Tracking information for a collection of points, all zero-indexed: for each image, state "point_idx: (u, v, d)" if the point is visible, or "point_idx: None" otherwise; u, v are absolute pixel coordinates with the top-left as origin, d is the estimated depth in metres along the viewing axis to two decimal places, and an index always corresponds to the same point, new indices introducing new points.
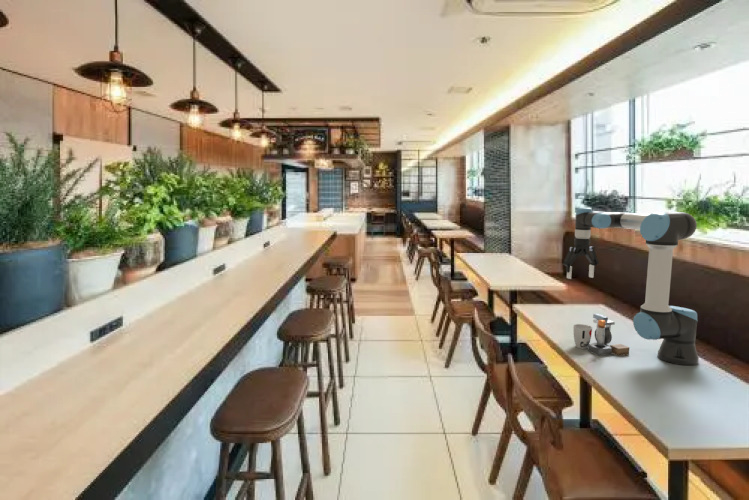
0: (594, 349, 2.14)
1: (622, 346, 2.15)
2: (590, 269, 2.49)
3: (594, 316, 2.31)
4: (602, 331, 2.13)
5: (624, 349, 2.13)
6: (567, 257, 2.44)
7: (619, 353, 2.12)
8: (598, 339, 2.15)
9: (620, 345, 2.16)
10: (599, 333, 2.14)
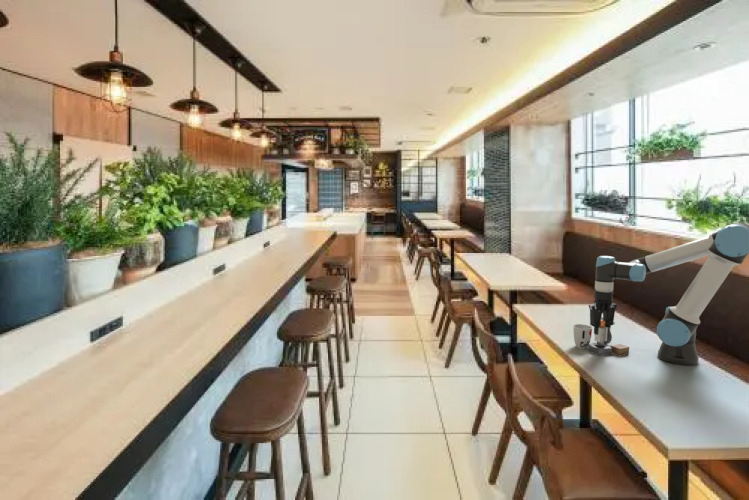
0: (594, 349, 2.14)
1: (622, 346, 2.15)
2: None
3: None
4: (603, 331, 2.13)
5: (624, 349, 2.13)
6: (592, 317, 2.12)
7: (620, 353, 2.12)
8: None
9: (619, 345, 2.16)
10: None
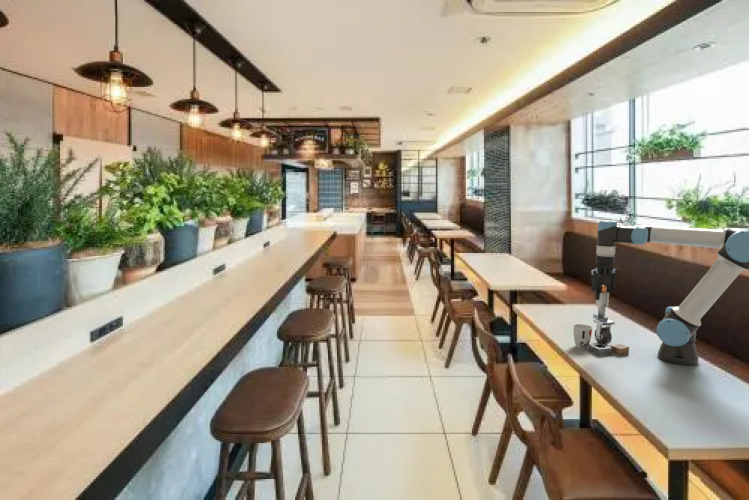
0: (594, 349, 2.14)
1: (622, 346, 2.15)
2: None
3: (594, 316, 2.31)
4: (604, 296, 2.12)
5: (624, 349, 2.13)
6: (593, 282, 2.11)
7: (621, 353, 2.12)
8: None
9: (619, 345, 2.16)
10: None
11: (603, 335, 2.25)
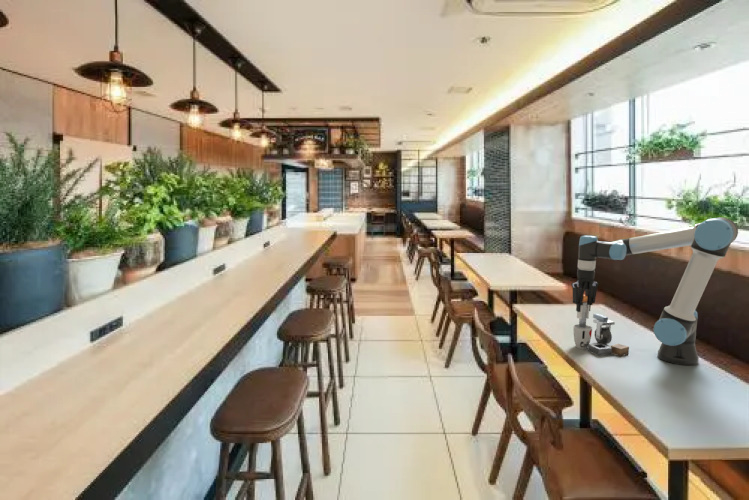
0: (594, 349, 2.14)
1: (622, 346, 2.15)
2: None
3: (594, 316, 2.31)
4: (585, 305, 2.20)
5: (625, 349, 2.13)
6: (574, 295, 2.19)
7: (621, 353, 2.12)
8: None
9: (619, 345, 2.16)
10: None
11: (603, 335, 2.25)
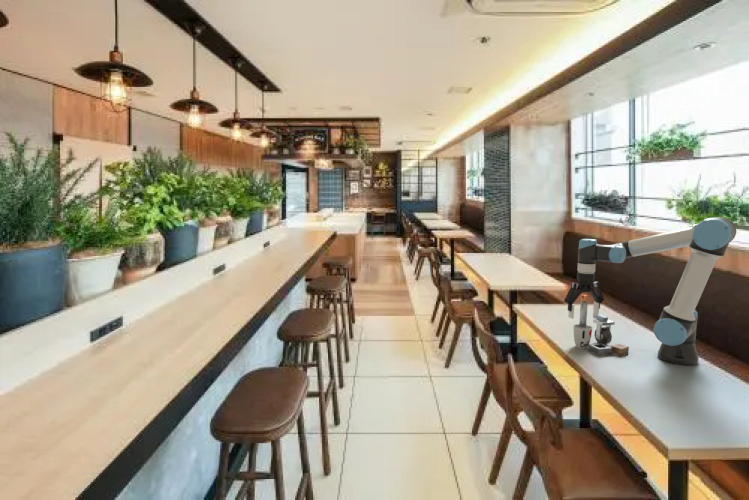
0: (594, 349, 2.14)
1: (622, 346, 2.15)
2: (594, 306, 2.23)
3: (594, 316, 2.31)
4: (585, 305, 2.19)
5: (625, 349, 2.13)
6: (569, 294, 2.18)
7: (622, 353, 2.12)
8: (581, 313, 2.21)
9: (619, 345, 2.16)
10: (582, 307, 2.20)
11: (603, 335, 2.25)
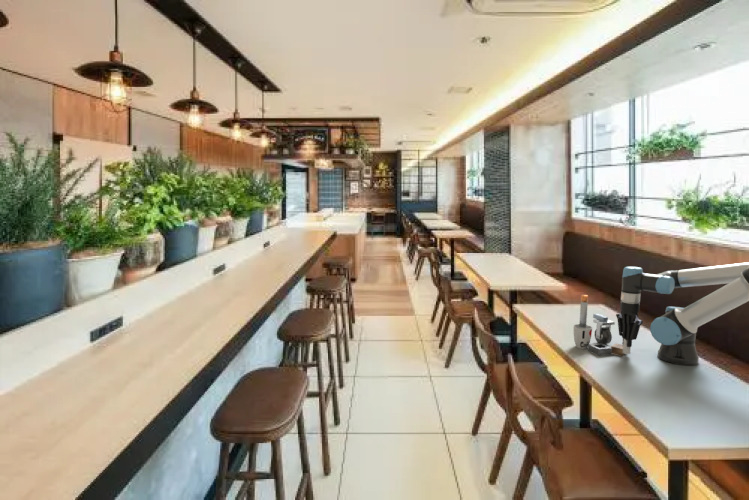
0: (594, 349, 2.14)
1: (621, 346, 2.15)
2: None
3: (594, 316, 2.31)
4: (585, 305, 2.19)
5: None
6: None
7: (622, 353, 2.12)
8: (581, 313, 2.21)
9: (618, 345, 2.16)
10: (582, 307, 2.20)
11: (603, 335, 2.25)
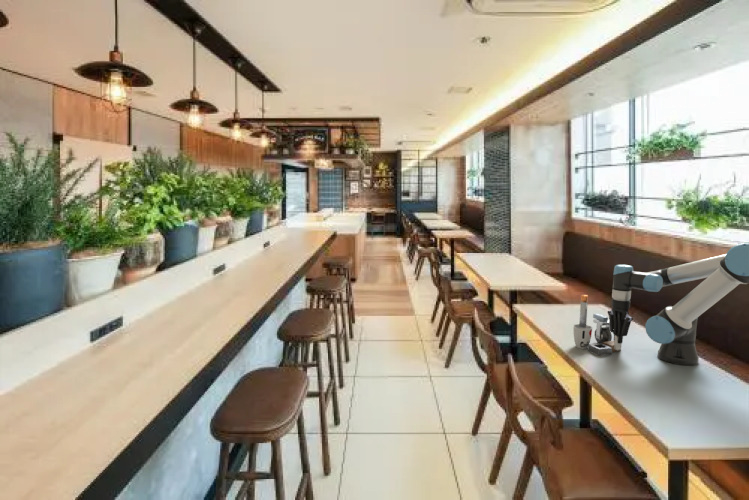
0: (594, 349, 2.14)
1: None
2: None
3: (594, 316, 2.31)
4: (585, 305, 2.19)
5: None
6: None
7: (612, 350, 2.16)
8: (581, 313, 2.21)
9: (612, 342, 2.20)
10: (582, 307, 2.20)
11: (603, 335, 2.25)
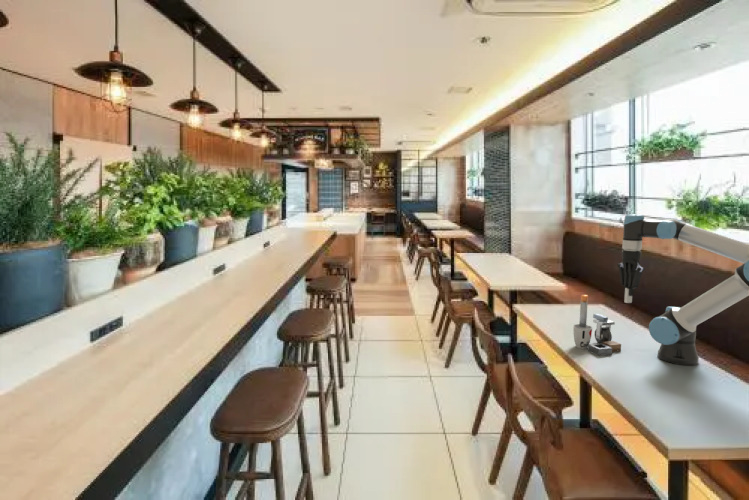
0: (594, 349, 2.14)
1: (614, 343, 2.19)
2: None
3: (594, 316, 2.31)
4: (585, 305, 2.19)
5: (616, 346, 2.17)
6: None
7: None
8: (581, 313, 2.21)
9: (612, 342, 2.20)
10: (582, 307, 2.20)
11: (603, 335, 2.25)
